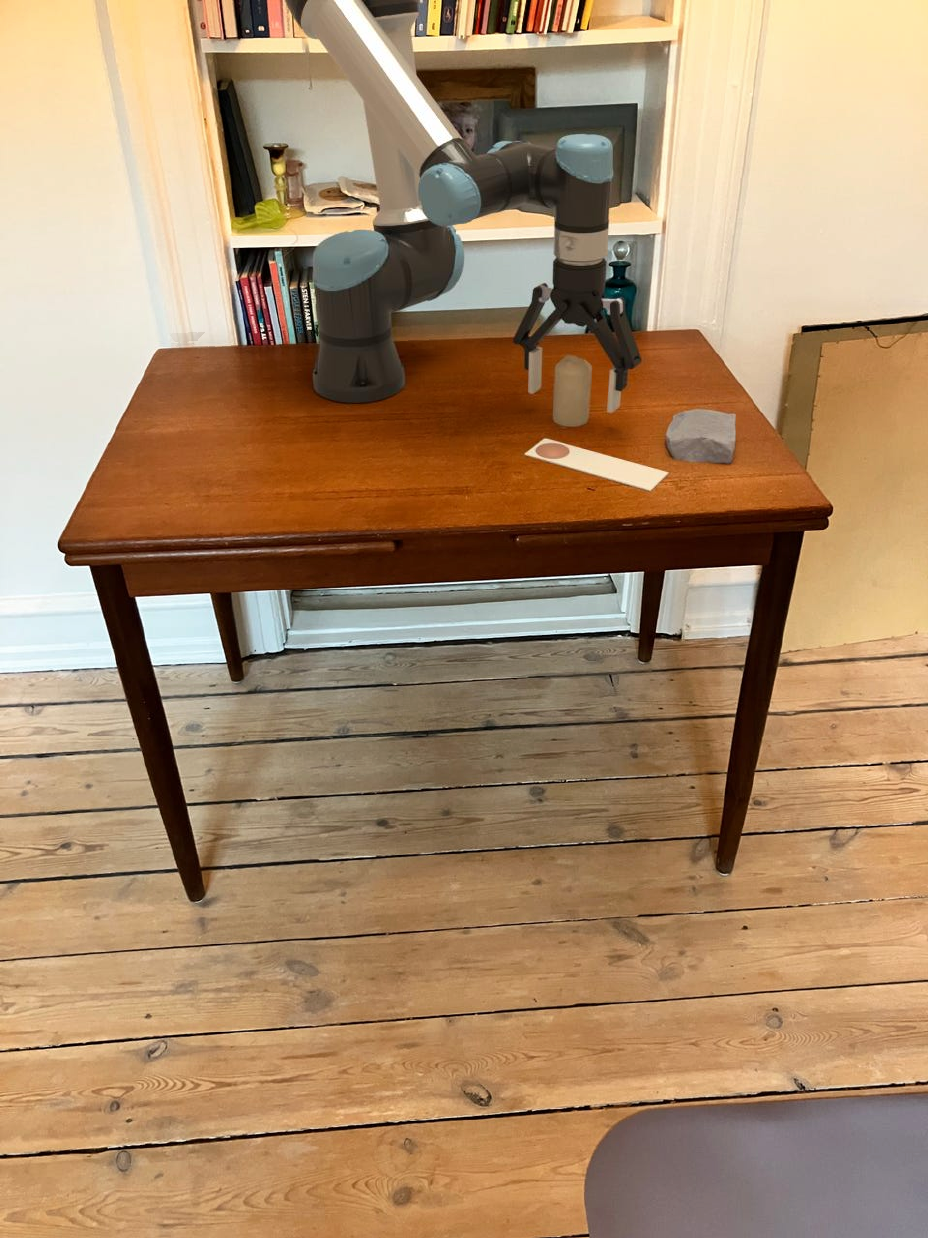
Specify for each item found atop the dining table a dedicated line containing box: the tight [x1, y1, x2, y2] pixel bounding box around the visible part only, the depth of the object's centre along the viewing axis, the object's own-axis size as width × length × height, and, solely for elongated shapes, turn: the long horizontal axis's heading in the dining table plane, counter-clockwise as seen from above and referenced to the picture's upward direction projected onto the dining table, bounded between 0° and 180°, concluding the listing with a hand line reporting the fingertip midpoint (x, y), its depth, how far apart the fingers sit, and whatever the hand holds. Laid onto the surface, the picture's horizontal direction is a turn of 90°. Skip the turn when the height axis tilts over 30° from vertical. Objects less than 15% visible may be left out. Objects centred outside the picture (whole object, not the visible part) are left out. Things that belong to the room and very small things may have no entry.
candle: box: [552, 354, 593, 428], centre depth 152 cm, size 6×6×10 cm
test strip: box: [524, 438, 670, 492], centre depth 143 cm, size 20×6×1 cm, turn 57°
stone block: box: [665, 408, 737, 465], centre depth 147 cm, size 12×5×10 cm
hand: (573, 399), depth 152 cm, fingers open, 13 cm apart
